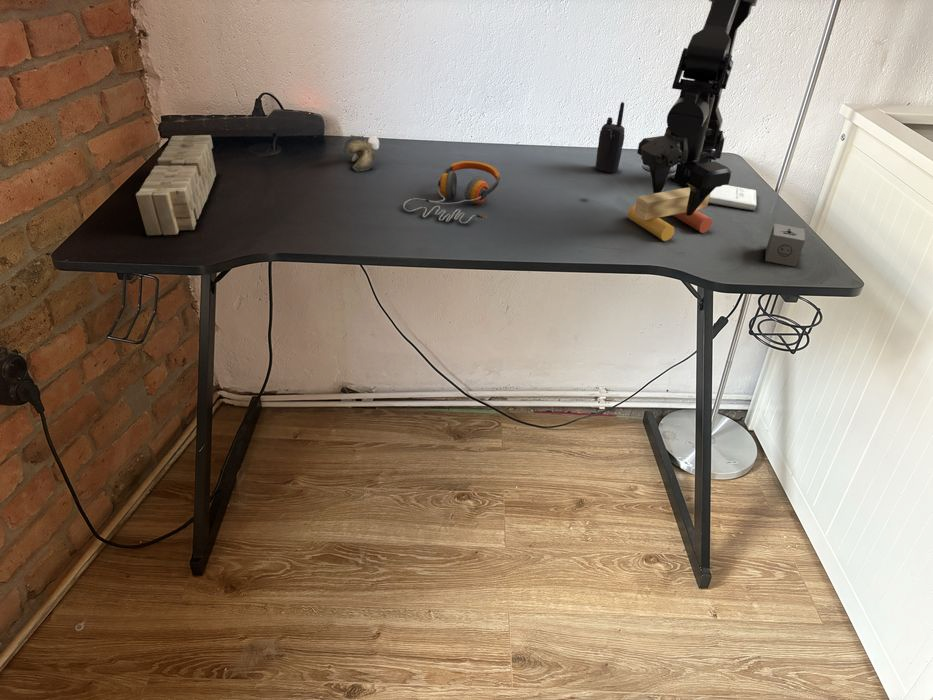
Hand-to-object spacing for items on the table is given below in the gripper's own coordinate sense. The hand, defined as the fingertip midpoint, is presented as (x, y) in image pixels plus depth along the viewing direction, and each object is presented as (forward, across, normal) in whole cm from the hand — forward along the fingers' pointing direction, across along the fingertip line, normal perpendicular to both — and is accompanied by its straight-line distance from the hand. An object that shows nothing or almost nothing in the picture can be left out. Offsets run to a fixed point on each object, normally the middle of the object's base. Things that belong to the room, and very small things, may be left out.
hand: (672, 205), depth 128 cm
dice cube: (+4, +18, +10) cm, 21 cm away
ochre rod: (+4, 0, -4) cm, 6 cm away
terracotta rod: (+4, 0, +4) cm, 6 cm away
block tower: (+4, -43, -81) cm, 92 cm away
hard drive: (+4, -6, +20) cm, 21 cm away
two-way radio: (+4, -28, +6) cm, 29 cm away
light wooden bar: (+1, 0, 0) cm, 1 cm away
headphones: (+4, -24, -32) cm, 41 cm away
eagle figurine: (+4, -51, -43) cm, 67 cm away
